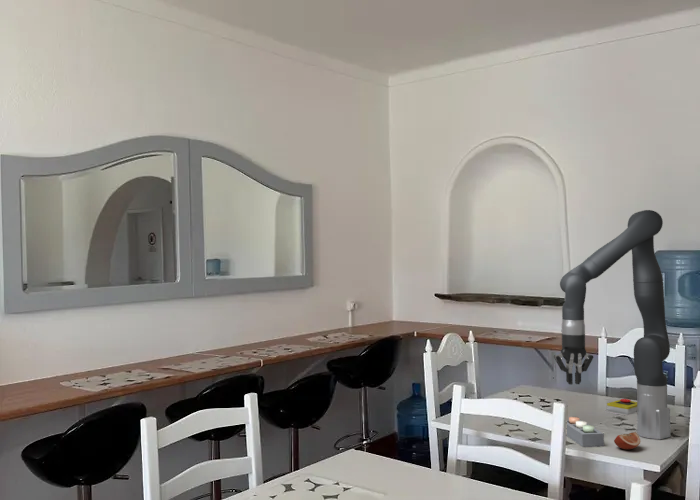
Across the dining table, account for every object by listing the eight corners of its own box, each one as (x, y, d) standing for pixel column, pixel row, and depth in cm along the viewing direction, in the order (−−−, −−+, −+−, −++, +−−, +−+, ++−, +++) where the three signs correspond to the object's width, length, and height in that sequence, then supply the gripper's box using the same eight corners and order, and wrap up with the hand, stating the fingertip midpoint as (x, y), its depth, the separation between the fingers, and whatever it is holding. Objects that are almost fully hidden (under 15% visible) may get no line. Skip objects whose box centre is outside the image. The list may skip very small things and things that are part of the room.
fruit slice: (627, 444, 214) (627, 429, 214) (646, 449, 209) (645, 433, 209) (609, 448, 210) (609, 432, 210) (627, 454, 204) (627, 437, 204)
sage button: (581, 431, 217) (581, 425, 217) (591, 431, 218) (591, 424, 218) (585, 434, 214) (585, 428, 214) (596, 434, 214) (595, 427, 214)
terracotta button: (567, 423, 228) (567, 416, 228) (577, 422, 229) (577, 416, 229) (571, 425, 225) (571, 419, 225) (581, 425, 225) (581, 419, 225)
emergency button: (645, 399, 260) (625, 405, 251) (645, 410, 260) (625, 416, 251) (623, 395, 268) (602, 401, 258) (623, 406, 268) (602, 412, 258)
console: (560, 431, 230) (560, 420, 230) (580, 431, 230) (580, 419, 230) (582, 446, 212) (582, 434, 212) (603, 446, 213) (603, 433, 213)
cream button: (574, 427, 223) (574, 420, 223) (584, 426, 223) (583, 420, 223) (578, 430, 219) (578, 423, 219) (588, 429, 220) (588, 423, 220)
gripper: (557, 334, 222) (558, 386, 222) (597, 333, 224) (598, 385, 224) (549, 331, 230) (549, 382, 230) (588, 331, 231) (588, 381, 231)
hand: (573, 383), depth 227 cm, fingers closed
